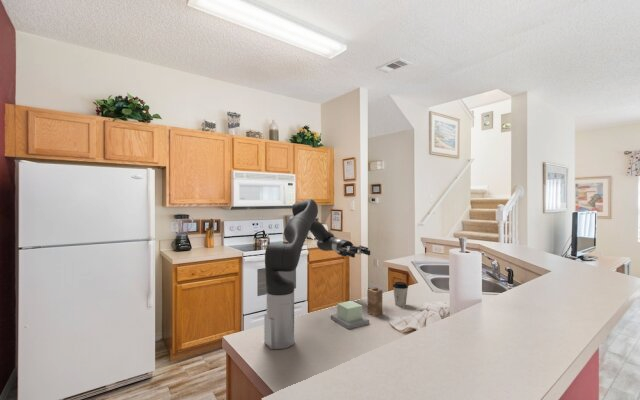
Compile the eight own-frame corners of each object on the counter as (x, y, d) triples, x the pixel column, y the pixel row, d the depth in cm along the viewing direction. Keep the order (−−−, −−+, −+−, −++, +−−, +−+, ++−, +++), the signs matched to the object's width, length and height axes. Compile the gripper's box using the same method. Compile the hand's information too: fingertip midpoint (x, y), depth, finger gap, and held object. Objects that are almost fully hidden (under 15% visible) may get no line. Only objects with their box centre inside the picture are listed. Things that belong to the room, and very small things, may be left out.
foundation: (348, 329, 113) (348, 311, 113) (330, 318, 123) (330, 302, 123) (369, 323, 118) (369, 306, 118) (350, 313, 128) (350, 298, 129)
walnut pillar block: (374, 316, 126) (374, 290, 126) (367, 312, 130) (367, 287, 130) (382, 314, 128) (382, 288, 128) (375, 311, 132) (375, 286, 132)
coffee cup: (411, 306, 137) (411, 284, 137) (398, 308, 135) (398, 285, 135) (402, 301, 144) (402, 280, 144) (389, 303, 141) (389, 282, 141)
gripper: (330, 240, 147) (349, 247, 133) (354, 238, 154) (374, 244, 140) (329, 256, 148) (348, 264, 134) (354, 252, 155) (374, 260, 141)
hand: (362, 254), depth 137 cm, fingers open, 8 cm apart
